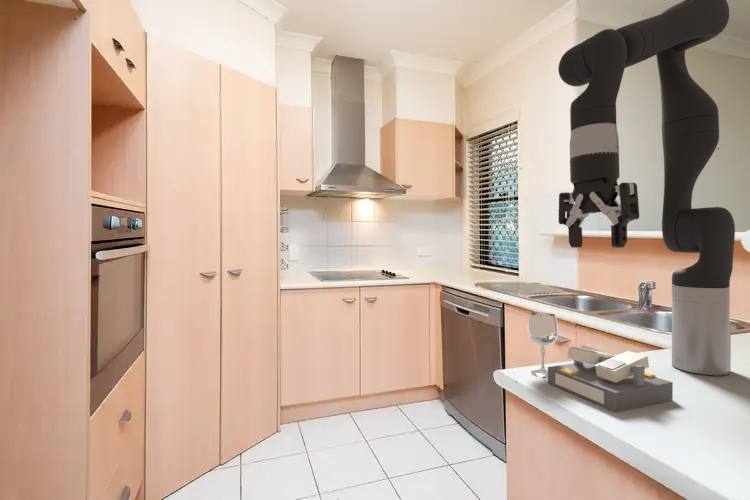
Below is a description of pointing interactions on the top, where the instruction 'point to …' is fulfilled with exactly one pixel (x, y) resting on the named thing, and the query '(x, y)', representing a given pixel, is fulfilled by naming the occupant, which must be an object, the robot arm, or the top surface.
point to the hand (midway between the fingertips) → (596, 247)
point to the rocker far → (620, 366)
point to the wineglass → (542, 335)
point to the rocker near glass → (586, 355)
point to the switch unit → (611, 386)
